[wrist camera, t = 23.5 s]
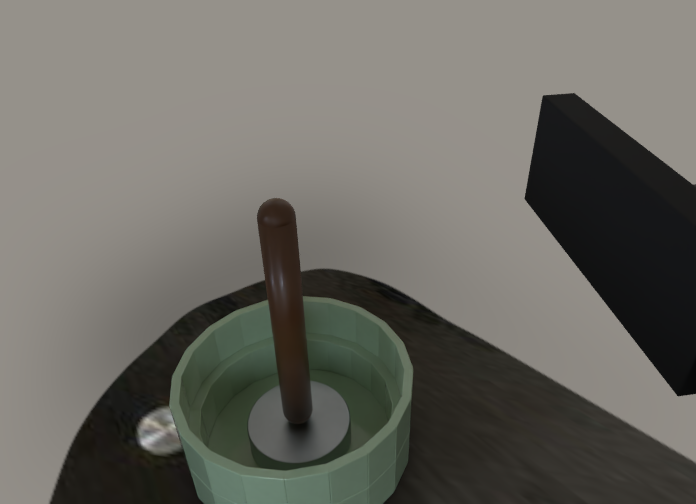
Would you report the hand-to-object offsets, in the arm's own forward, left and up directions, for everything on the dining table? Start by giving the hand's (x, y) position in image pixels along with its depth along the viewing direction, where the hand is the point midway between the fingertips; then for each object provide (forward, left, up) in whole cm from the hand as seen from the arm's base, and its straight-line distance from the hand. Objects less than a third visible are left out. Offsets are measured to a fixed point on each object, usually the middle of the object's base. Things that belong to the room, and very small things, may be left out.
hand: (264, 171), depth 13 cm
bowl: (+5, +13, -28) cm, 32 cm away
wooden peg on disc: (+5, +13, -28) cm, 31 cm away
